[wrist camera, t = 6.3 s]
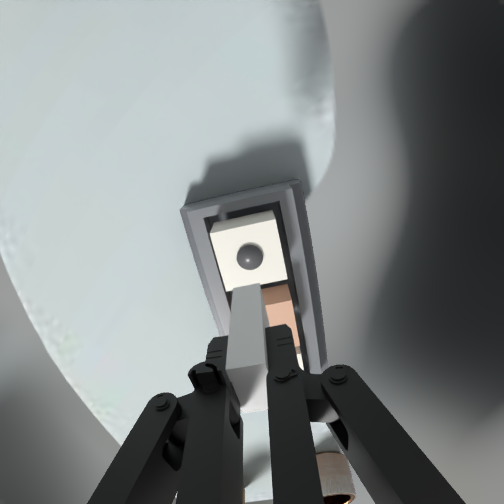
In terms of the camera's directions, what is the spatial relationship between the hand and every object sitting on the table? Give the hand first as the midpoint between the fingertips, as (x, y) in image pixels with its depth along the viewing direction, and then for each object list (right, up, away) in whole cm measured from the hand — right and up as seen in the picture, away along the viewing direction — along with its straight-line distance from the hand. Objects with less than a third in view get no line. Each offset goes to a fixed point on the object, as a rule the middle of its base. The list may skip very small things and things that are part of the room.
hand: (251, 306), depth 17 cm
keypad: (+1, -1, +15) cm, 15 cm away
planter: (+13, -37, +29) cm, 49 cm away
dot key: (0, +4, +9) cm, 10 cm away
